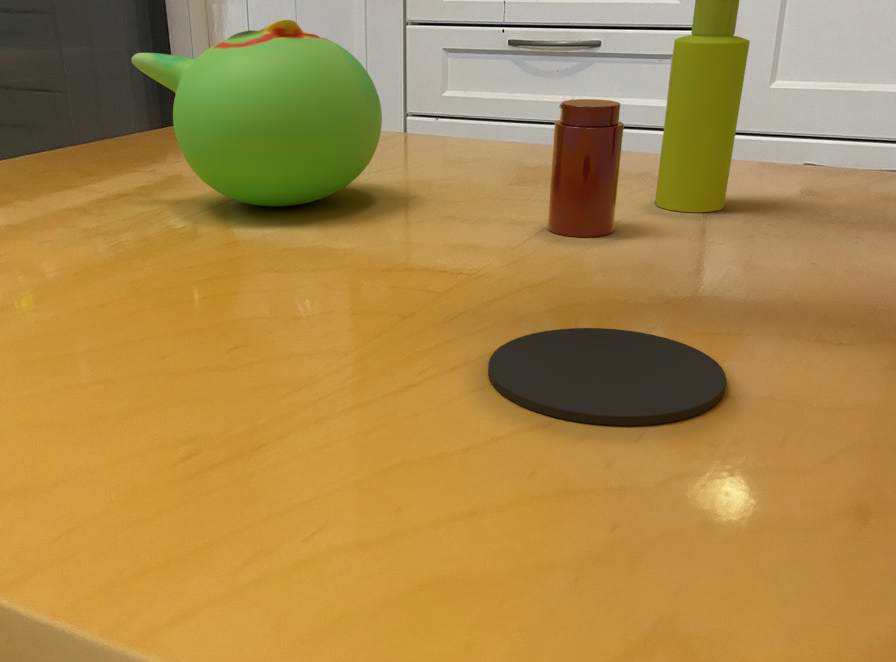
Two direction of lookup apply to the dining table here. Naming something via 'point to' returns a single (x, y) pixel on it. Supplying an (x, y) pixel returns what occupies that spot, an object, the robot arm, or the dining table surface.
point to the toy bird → (272, 114)
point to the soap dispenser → (702, 110)
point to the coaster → (607, 376)
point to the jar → (585, 168)
